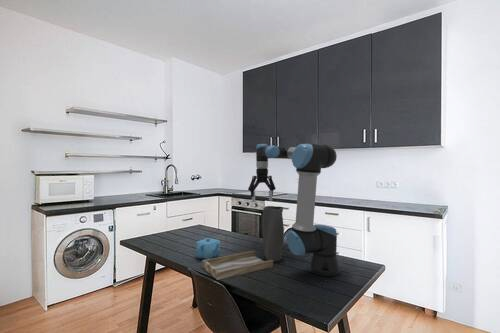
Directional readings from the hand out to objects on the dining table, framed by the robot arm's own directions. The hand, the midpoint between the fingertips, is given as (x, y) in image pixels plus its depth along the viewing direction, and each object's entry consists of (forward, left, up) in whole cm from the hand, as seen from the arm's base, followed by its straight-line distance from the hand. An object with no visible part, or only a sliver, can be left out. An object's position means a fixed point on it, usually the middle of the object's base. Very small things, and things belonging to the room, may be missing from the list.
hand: (262, 201), depth 173 cm
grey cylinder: (+3, -15, -31) cm, 35 cm away
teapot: (+3, +35, -31) cm, 47 cm away
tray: (-18, +27, -31) cm, 45 cm away
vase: (-18, +4, -31) cm, 36 cm away
